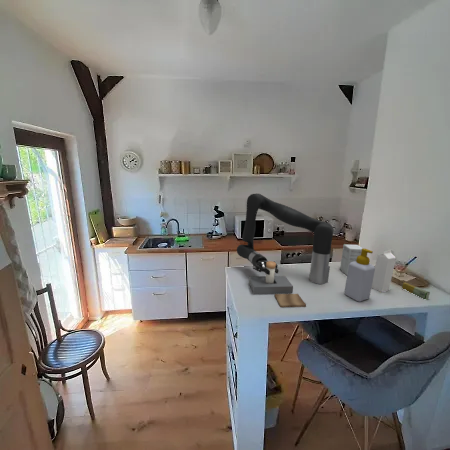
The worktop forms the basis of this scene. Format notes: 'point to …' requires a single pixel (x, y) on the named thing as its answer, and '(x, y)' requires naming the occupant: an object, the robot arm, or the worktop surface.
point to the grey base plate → (270, 285)
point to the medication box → (416, 290)
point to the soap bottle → (360, 277)
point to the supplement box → (349, 256)
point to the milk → (383, 271)
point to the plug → (271, 268)
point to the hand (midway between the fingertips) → (273, 272)
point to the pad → (289, 300)
